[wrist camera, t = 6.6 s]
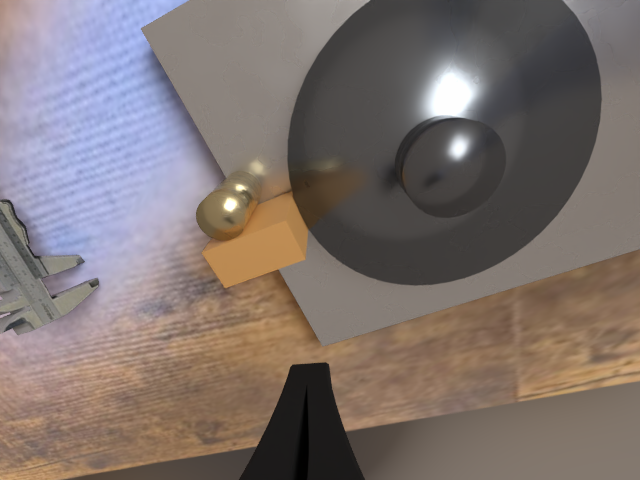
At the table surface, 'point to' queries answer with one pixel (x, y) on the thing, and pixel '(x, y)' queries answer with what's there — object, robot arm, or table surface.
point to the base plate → (272, 144)
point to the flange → (429, 141)
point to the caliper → (31, 279)
